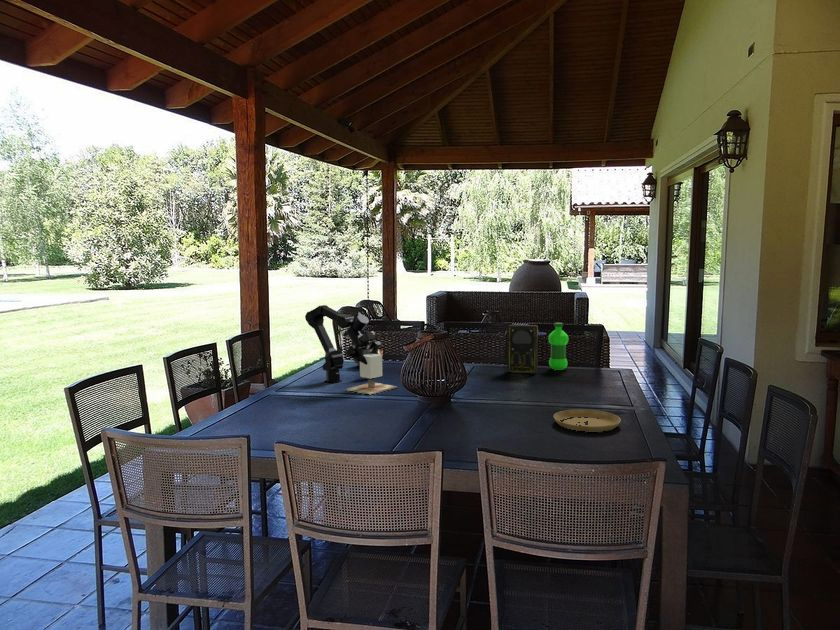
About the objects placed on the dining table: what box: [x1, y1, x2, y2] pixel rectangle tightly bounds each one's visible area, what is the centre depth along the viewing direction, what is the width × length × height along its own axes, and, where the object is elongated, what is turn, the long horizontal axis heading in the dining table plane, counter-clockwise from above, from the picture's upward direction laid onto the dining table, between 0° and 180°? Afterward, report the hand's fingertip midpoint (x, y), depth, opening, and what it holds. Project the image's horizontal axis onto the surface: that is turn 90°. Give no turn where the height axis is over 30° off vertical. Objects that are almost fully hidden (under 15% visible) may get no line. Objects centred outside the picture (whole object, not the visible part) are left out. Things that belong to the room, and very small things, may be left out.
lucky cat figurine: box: [352, 348, 384, 367], centre depth 352 cm, size 15×12×14 cm
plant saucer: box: [553, 409, 622, 433], centre depth 234 cm, size 24×24×3 cm
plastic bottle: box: [547, 322, 570, 371], centre depth 335 cm, size 10×10×25 cm
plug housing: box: [359, 353, 383, 380], centre depth 295 cm, size 7×7×10 cm
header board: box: [345, 379, 398, 396], centre depth 296 cm, size 16×18×4 cm
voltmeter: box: [507, 324, 539, 375], centre depth 330 cm, size 16×9×25 cm, turn 73°
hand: (372, 362), depth 294 cm, fingers closed on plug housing, 7 cm apart
